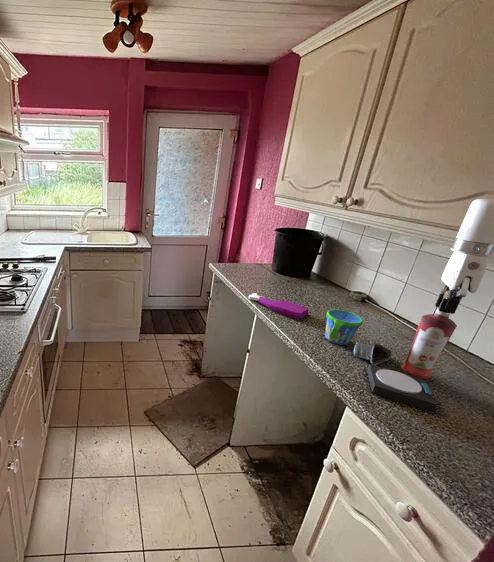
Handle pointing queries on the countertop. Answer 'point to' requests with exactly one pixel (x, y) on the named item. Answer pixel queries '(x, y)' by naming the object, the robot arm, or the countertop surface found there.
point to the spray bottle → (282, 307)
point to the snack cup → (341, 326)
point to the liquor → (429, 343)
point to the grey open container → (372, 352)
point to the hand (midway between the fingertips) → (444, 309)
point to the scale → (401, 387)
